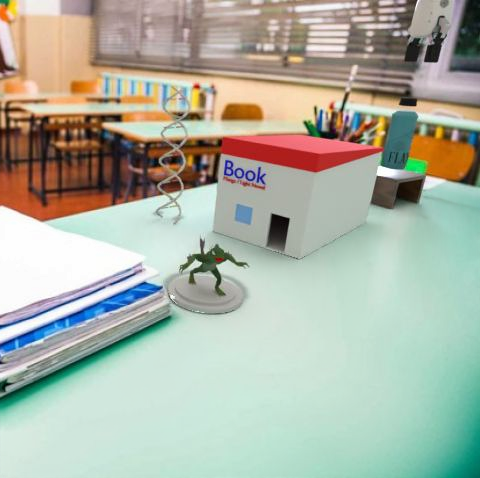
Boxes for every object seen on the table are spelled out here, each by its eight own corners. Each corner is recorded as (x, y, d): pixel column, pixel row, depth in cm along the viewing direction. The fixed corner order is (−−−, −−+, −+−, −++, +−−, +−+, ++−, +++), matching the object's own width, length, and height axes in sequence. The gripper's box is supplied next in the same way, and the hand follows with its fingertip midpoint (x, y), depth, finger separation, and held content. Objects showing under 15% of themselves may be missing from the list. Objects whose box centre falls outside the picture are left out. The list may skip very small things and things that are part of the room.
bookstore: (211, 231, 109) (222, 136, 102) (287, 202, 132) (300, 124, 125) (299, 260, 96) (319, 153, 88) (366, 222, 119) (386, 136, 111)
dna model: (186, 224, 113) (198, 88, 102) (161, 226, 111) (171, 88, 100) (173, 215, 119) (183, 85, 108) (149, 217, 117) (157, 85, 106)
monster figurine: (181, 317, 74) (187, 254, 70) (159, 281, 85) (163, 225, 81) (255, 311, 76) (264, 250, 72) (224, 277, 87) (231, 223, 83)
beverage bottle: (381, 173, 133) (399, 97, 126) (375, 168, 139) (392, 95, 132) (407, 176, 132) (427, 99, 125) (400, 170, 138) (419, 97, 131)
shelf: (419, 202, 137) (426, 174, 134) (390, 209, 130) (397, 179, 128) (378, 192, 147) (385, 165, 144) (349, 197, 140) (355, 169, 137)
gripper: (475, -18, 111) (455, 63, 117) (433, -9, 127) (417, 61, 133) (441, -18, 111) (423, 62, 117) (403, -10, 127) (389, 61, 134)
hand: (420, 62), depth 125 cm, fingers open, 9 cm apart
